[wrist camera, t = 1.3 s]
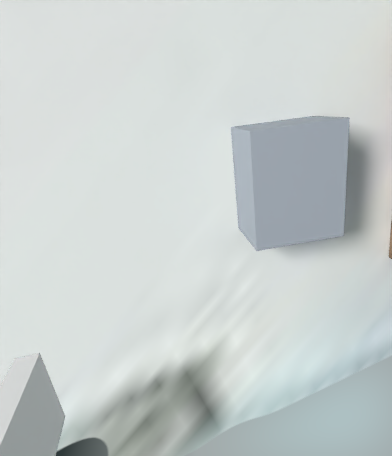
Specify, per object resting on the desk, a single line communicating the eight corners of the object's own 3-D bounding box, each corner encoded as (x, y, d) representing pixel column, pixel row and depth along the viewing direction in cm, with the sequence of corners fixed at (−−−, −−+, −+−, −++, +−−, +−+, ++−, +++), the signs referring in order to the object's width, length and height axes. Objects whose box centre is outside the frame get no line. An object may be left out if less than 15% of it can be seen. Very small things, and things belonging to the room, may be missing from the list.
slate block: (230, 127, 30) (250, 131, 25) (312, 115, 31) (349, 117, 25) (238, 227, 34) (256, 250, 28) (311, 215, 35) (343, 235, 29)
